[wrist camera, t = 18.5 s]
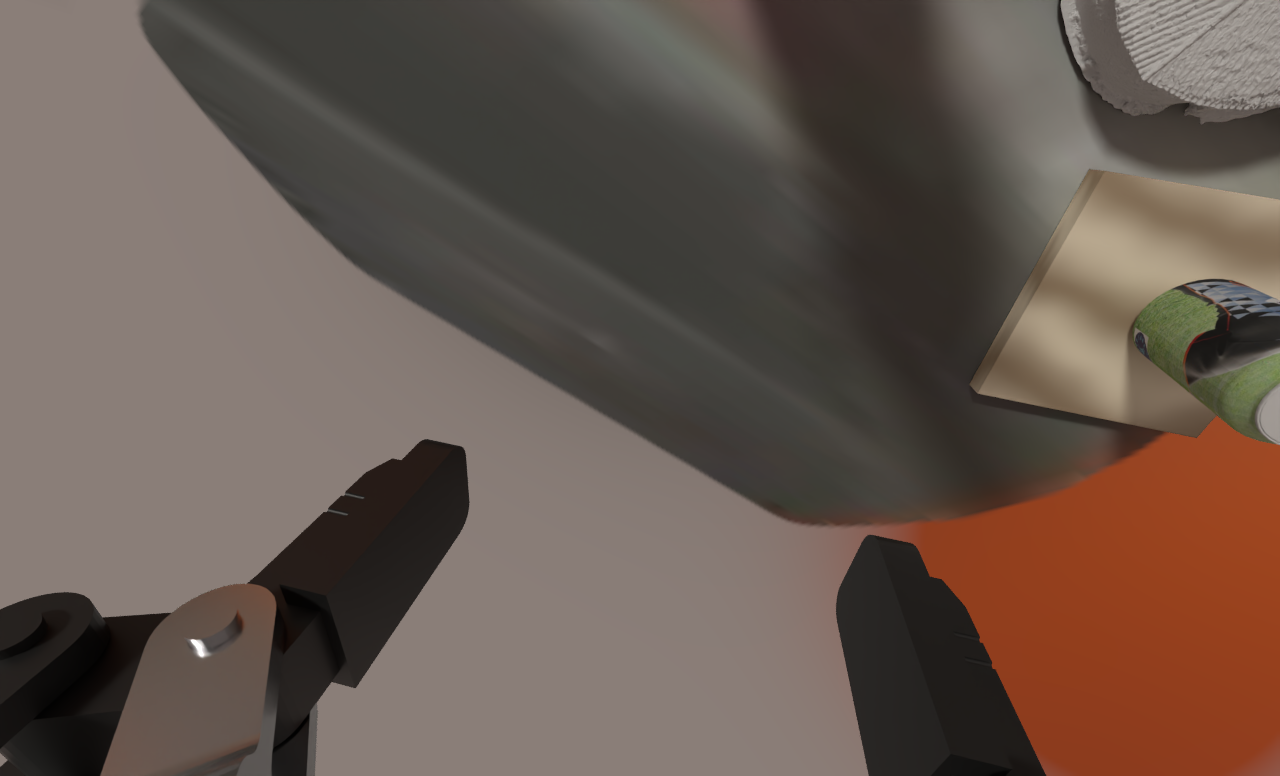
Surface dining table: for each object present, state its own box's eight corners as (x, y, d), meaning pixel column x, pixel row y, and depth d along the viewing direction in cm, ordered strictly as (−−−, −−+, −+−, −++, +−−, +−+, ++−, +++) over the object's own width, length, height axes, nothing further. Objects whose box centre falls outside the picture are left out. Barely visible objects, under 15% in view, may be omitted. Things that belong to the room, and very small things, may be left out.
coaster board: (1089, 169, 31) (1105, 171, 29) (1361, 214, 30) (1390, 217, 28) (969, 384, 39) (977, 393, 37) (1180, 427, 37) (1196, 437, 36)
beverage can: (1240, 337, 32) (1478, 436, 22) (1108, 377, 35) (1265, 482, 25) (1234, 253, 30) (1495, 319, 20) (1094, 302, 33) (1260, 382, 23)
